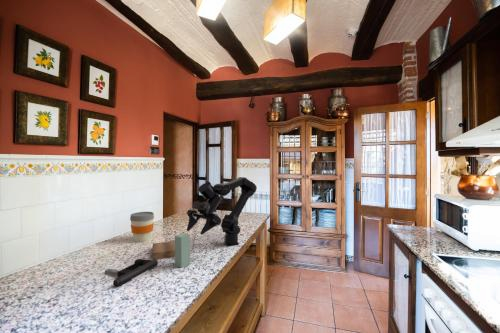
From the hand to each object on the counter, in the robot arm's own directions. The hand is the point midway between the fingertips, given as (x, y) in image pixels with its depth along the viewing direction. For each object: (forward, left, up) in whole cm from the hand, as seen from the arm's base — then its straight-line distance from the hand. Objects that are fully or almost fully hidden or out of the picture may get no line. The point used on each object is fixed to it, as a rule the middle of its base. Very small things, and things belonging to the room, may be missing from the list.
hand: (194, 232), depth 110 cm
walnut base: (+10, -15, -13) cm, 22 cm away
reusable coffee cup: (+21, -41, -13) cm, 48 cm away
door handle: (+27, +1, -13) cm, 30 cm away
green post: (+6, +3, -13) cm, 14 cm away
